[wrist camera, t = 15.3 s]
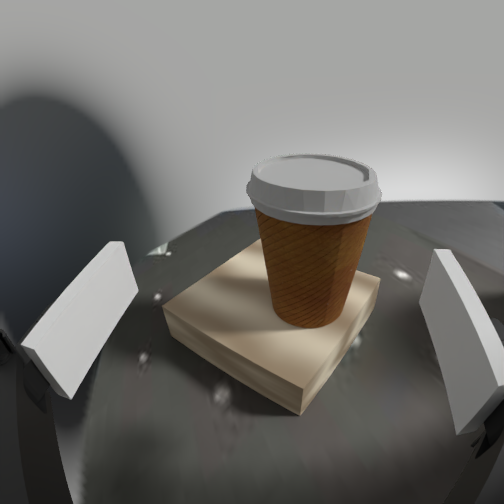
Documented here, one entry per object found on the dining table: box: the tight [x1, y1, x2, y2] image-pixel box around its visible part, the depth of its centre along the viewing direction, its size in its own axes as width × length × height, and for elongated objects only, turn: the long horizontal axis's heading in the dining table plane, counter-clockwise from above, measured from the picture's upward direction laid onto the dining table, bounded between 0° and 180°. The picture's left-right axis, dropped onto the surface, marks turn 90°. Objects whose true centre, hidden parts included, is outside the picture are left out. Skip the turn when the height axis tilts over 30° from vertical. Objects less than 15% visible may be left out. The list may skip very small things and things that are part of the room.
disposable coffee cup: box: [246, 154, 382, 328], centre depth 24 cm, size 10×10×12 cm
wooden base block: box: [162, 239, 380, 416], centre depth 29 cm, size 15×15×4 cm
